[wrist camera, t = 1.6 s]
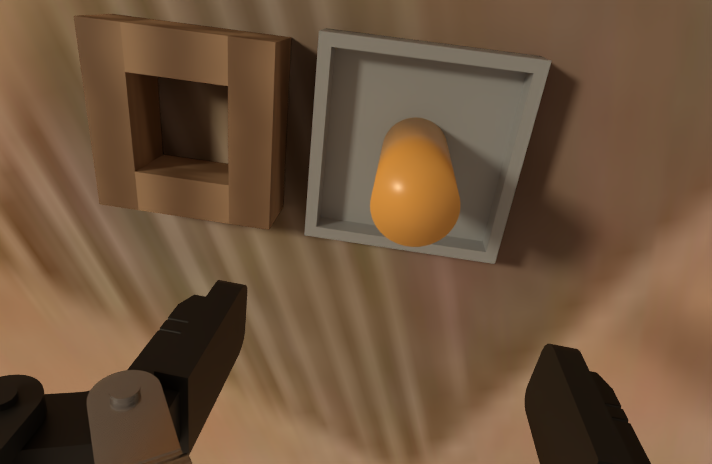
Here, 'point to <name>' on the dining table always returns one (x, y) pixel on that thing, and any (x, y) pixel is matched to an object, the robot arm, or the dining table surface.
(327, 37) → the tray
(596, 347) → the dining table surface
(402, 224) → the plug
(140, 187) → the socket block
